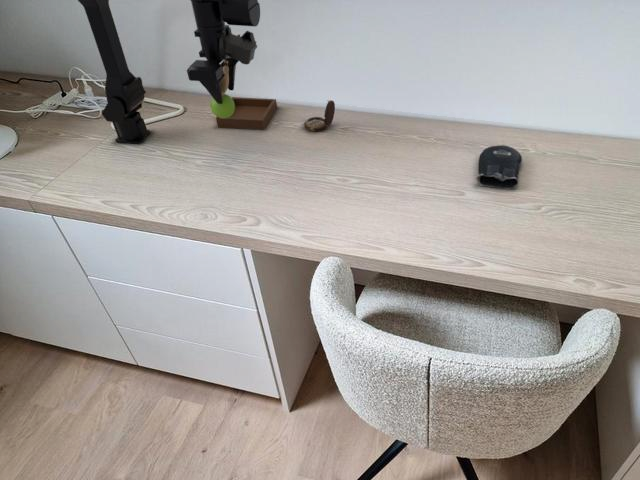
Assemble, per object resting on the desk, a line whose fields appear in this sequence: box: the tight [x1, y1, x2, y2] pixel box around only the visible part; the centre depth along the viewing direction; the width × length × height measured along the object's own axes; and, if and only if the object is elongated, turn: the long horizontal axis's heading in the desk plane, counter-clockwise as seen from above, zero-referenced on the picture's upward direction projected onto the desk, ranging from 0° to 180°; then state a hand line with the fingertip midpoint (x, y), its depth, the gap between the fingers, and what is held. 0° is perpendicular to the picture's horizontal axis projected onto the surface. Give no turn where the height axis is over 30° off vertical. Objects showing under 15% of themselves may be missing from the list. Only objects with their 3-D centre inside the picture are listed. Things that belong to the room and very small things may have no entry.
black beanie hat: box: [475, 144, 523, 190], centre depth 110 cm, size 9×6×15 cm
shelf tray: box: [215, 96, 278, 131], centre depth 131 cm, size 13×13×3 cm
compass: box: [304, 99, 336, 133], centre depth 125 cm, size 8×8×7 cm
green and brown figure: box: [209, 60, 235, 119], centre depth 111 cm, size 5×6×12 cm
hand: (225, 96), depth 112 cm, fingers closed on green and brown figure, 7 cm apart
